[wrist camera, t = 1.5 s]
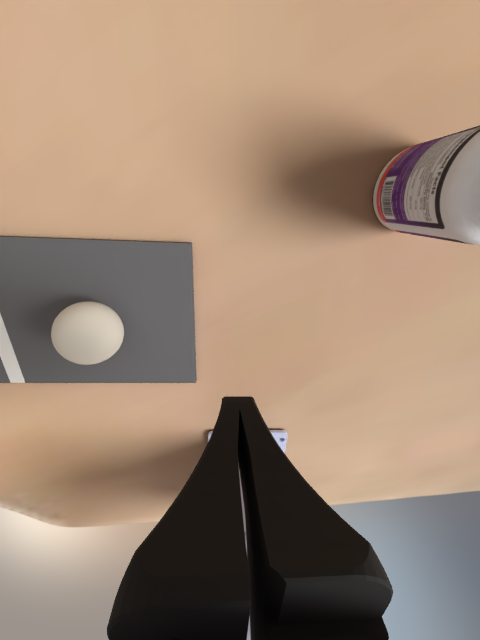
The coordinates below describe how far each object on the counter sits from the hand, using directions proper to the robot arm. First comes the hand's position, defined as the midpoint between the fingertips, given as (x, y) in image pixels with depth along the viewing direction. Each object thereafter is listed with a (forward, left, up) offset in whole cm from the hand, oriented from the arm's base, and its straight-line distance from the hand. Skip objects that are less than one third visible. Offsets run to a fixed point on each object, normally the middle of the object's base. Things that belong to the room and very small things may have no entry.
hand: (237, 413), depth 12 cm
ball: (0, +10, -10) cm, 14 cm away
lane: (0, +15, -10) cm, 19 cm away
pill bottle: (+10, -12, -11) cm, 19 cm away
